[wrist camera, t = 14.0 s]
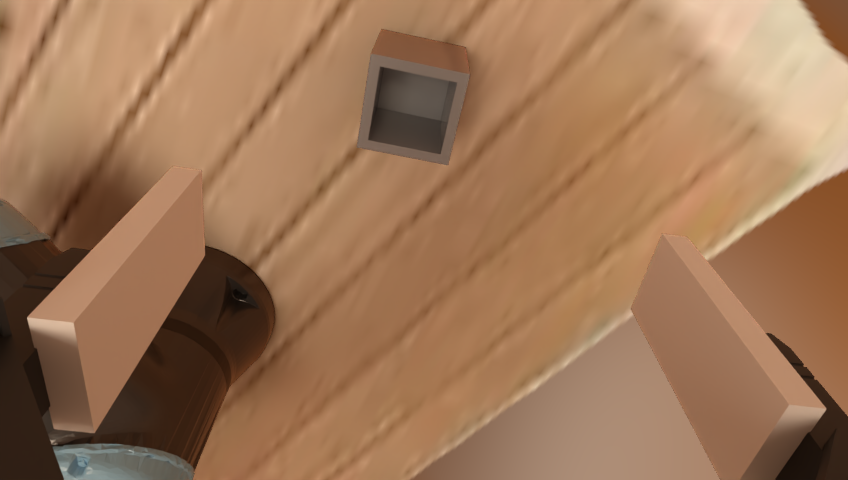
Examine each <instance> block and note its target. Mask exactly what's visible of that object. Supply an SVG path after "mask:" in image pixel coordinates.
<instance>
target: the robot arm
mask: <svg viewBox="0 0 848 480" xmlns="http://www.w3.org/2000/svg"><path fill="white" fill-rule="evenodd" d="M50 239H51V237H50V236H49V235H48V234H46V233H42V232H40V231H39V230H38V229H37V228H36V227H35V226H34V225H32V224H31V223H30V222H29V221H28V220H27V219H26V218H25V217H24V216H23V215H22V214H21V213H20V212H19V211H17V210H16V209H15V208H14V207H13V206H12V205H11V204H10V203H8V202H7V201H5V200H3V199H0V480H193V477H194V474H195V473H194V471H195V469H196V466H197V464H198V461H199V459H200V456H201V454H202V452H203V449H204V447H205V444H206V442H207V439H208V437H209V434H210V432H211V430H212V427H213V425H214V422H215V420H216V417H217V415H218V413H219V410H220V408H221V405H222V403H223V401H224V398H225V396H226V393H227V391H228V389H229V387H230V386H231V385H232V384H233V383H234V382H235V381H236V380H237V379H238V378H239V377H240V376H241V375H242V374H243V373H244V372H245V371H246V370H247V369H248V368H249V367H250V366H251V365H252V364H253V363H254V362H255V361H256V360H257V359H258V358H259V356H260V355H261V354H262V352H263V351H264V349H265V347H266V345H267V343H268V340H269V337H270V335H271V332H272V329H273V326H274V307H273V303H272V300H271V297H270V295H269V293H268V291H267V289H266V288H265V286H264V285H263V283H262V282H261V280H260V279H259V278H258V277H257V276H256V275H255V274H254V273H253V272H252V271H251V270H250V269H249V268H248V267H246V266H245V265H244V264H242V263H241V262H240V261H238V260H236V259H235V258H233V257H231V256H229V255H227V254H225V253H223V252H220V251H218V250H215V249H212V248H208V247H205V239H204V215H203V192H202V170H199V169H191V168H184V167H177V166H172V167H171V168H170V169H169V170H168V171H167V172H166V173H165V175H164V176H163V177H162V178H161V179H160V180H159V181H158V182H157V183H156V184H155V185H154V186H153V187H152V188H151V189H150V190H149V191H148V192H147V193H146V194H145V195H144V196H143V197H142V198H141V199H140V200H139V202H138V203H137V204H136V205H135V206H134V207H133V208H132V209H131V210H130V211H129V212H128V213H127V214H126V215H125V216H124V217H123V218H122V219H121V220H120V221H119V222H118V223H117V224H116V225H115V226H114V227H113V229H112V230H111V231H110V232H109V233H108V234H107V235H106V236H105V237H104V238H103V239H102V240H101V241H100V242H99V243H98V244H97V245H96V246H95V247H94V248H93V249H92V250H84V249H76V248H71V249H69V250H67V251H65V252H63V253H62V252H61V251H60V250H59V249H58V248H57V247H56V246H55V245H54V244H53V243H52V242H51V241H50ZM631 310H632V312H633V314H634V316H635V318H636V320H637V322H638V324H639V326H640V328H641V329H642V331H643V333H644V335H645V337H646V339H647V341H648V343H649V345H650V347H651V348H652V351H653V352H654V354H655V356H656V358H657V360H658V362H659V364H660V366H661V368H662V370H663V372H664V373H665V375H666V377H667V379H668V381H669V383H670V385H671V387H672V388H673V391H674V393H675V394H676V396H677V398H678V400H679V402H680V404H681V406H682V408H683V409H684V412H685V414H686V415H687V417H688V419H689V421H690V423H691V425H692V427H693V429H694V431H695V433H696V435H697V436H698V438H699V440H700V442H701V444H702V446H703V448H704V450H705V452H706V453H707V455H708V457H709V459H710V461H711V463H712V465H713V467H714V469H715V471H716V473H717V475H718V476H719V479H720V480H848V416H847V415H846V414H845V413H844V412H843V411H842V409H841V408H840V407H839V406H838V404H837V403H836V402H835V401H834V400H833V399H832V397H831V396H830V395H829V394H828V392H827V391H826V390H825V389H824V388H823V387H822V385H821V384H820V383H819V382H818V381H817V380H814V376H813V375H812V373H811V372H810V371H809V370H808V369H807V367H803V365H804V364H803V363H802V361H801V360H800V359H799V358H798V357H797V356H796V355H795V353H794V352H793V351H792V350H791V348H789V347H788V346H787V345H785V344H784V343H783V342H781V341H780V340H779V339H777V338H776V337H775V336H774V335H772V334H769V333H765V332H764V331H763V330H762V328H761V327H760V326H759V325H758V323H757V322H756V321H755V320H754V319H753V317H752V316H751V315H750V314H749V312H748V311H747V310H746V309H745V307H744V306H743V305H742V304H741V303H740V301H739V300H738V299H737V298H736V296H735V295H734V294H733V293H732V292H731V290H730V289H729V288H728V286H727V285H726V284H725V283H724V282H723V280H722V279H721V278H720V277H719V275H718V274H717V273H716V272H715V270H714V269H713V268H712V267H711V265H710V264H709V263H708V262H707V261H706V259H705V258H704V257H703V256H702V254H701V253H700V252H699V251H698V249H697V248H696V247H695V246H694V244H693V243H692V242H691V241H690V240H689V238H688V237H686V236H678V235H671V234H664V233H662V235H661V237H660V240H659V242H658V244H657V247H656V249H655V252H654V254H653V256H652V259H651V261H650V264H649V266H648V268H647V271H646V273H645V276H644V278H643V280H642V283H641V285H640V288H639V290H638V292H637V295H636V297H635V300H634V302H633V304H632V307H631Z"/></svg>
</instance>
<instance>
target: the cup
mask: <svg viewBox="0 0 848 480" xmlns="http://www.w3.org/2000/svg"><path fill="white" fill-rule="evenodd" d="M469 77H470V70H469V65H468V59H467V54H466V48H465V47H462V46H458V45H453V44H448V43H444V42H439V41H435V40H430V39H425V38H421V37H416V36H411V35H407V34H402V33H397V32H393V31H388V30H384V29H381V31H380V34H379V36H378V38H377V41H376V43H375V45H374V48H373V50H372V52H371V57H370V63H369V70H368V76H367V83H366V90H365V96H364V103H363V109H362V116H361V123H360V129H359V136H358V142H357V147H358V148H363V149H368V150H373V151H378V152H383V153H388V154H393V155H398V156H403V157H408V158H413V159H418V160H424V161H429V162H434V163H439V164H444V165H448V164H449V160H450V155H451V151H452V147H453V143H454V139H455V135H456V131H457V127H458V123H459V118H460V114H461V110H462V106H463V102H464V98H465V94H466V90H467V86H468V81H469Z"/></svg>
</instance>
